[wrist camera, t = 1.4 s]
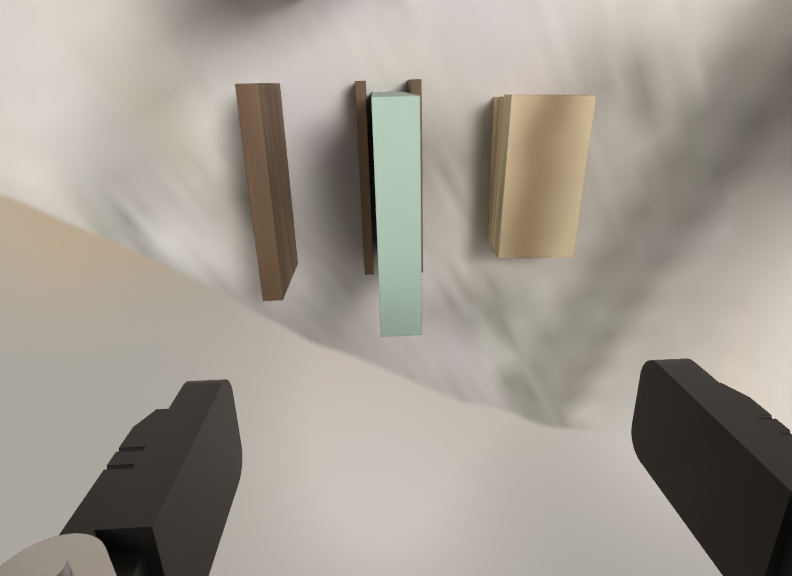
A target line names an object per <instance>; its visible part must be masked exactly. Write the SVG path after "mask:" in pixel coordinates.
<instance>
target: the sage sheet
mask: <svg viewBox="0 0 792 576" xmlns="http://www.w3.org/2000/svg"><path fill="white" fill-rule="evenodd" d="M371 98H372V123H373V148H374V172H375V197H376V221H377V246H378V271H379V295H380V320H381V337H386V336H410V335H422V280H421V164H420V96H418V95H414V94H410V93H406V92H372V97H371Z"/></svg>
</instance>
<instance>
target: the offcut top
mask: <svg viewBox="0 0 792 576" xmlns="http://www.w3.org/2000/svg"><path fill="white" fill-rule="evenodd" d="M595 99H596V96H594V95H505V96H504V109H503V122H502V135H501V148H500V160H499V173H498V186H497V199H496V212H495V225H494V238H493V251H494V253H495V254H496V255H497V257H498V258H568V257H574V252H575V245H576V237H577V230H578V223H579V215H580V208H581V201H582V194H583V186H584V179H585V172H586V164H587V157H588V150H589V143H590V135H591V128H592V121H593V113H594V106H595Z"/></svg>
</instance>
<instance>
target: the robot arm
mask: <svg viewBox="0 0 792 576" xmlns="http://www.w3.org/2000/svg"><path fill="white" fill-rule="evenodd" d="M631 434H632V442H633V446H634V450H635V452H636V455H637V457H638V459H639V460H640V462H641V463H642V465H643V466H644V467H645V469H646V470H647V471H648V473H649V474H650V476H651V477H652V478H653V480H654V481H655V483H656V484H657V485H658V487H659V488H660V489H661V491H662V492H663V494H664V495H665V496H666V498H667V499H668V501H669V502H670V503H671V505H672V506H673V507H674V509H675V510H676V512H677V513H678V514H679V516H680V517H681V518H682V520H683V521H684V523H685V524H686V525H687V527H688V528H689V529H690V531H691V532H692V534H693V535H694V536H695V538H696V539H697V540H698V542H699V543H700V545H701V546H702V547H703V549H704V550H705V552H706V553H707V554H708V556H709V557H710V558H711V560H712V561H713V563H714V564H715V565H716V567H717V568H718V570H719V571H720V572H721V574H722V575H723V576H792V434H791V433H790V430H789V429H788V428H787V427H785V426H784V425H783V424H782V423H780V422H779V421H778V420H777V419H772V417H771V414H769V413H768V412H767V411H766V410H765V409H763V408H762V407H761V406H760V405H758V404H757V403H756V402H755V401H754V400H752V399H751V398H750V397H748V396H746V395H744V394H742V393H740V392H738V391H736V390H734V389H732V388H730V387H728V386H726V385H724V384H722V383H719V382H718V381H716V380H715V379H714V378H713V377H712V376H711V375H709V374H708V373H707V372H706V371H705V370H703V369H702V368H701V367H700V366H699V365H698V364H696V363H695V362H694V361H692V360H690V359H666V360H649V361H647V362H646V363H645V364H644V365H643V367H642V370H641V374H640V380H639V386H638V392H637V398H636V404H635V410H634V416H633V422H632V429H631ZM241 469H242V446H241V440H240V434H239V427H238V421H237V415H236V409H235V403H234V397H233V391H232V387H231V384H230V382H229V381H228V380H205V381H188V382H186V383H185V384H184V385H183V386H182V388H181V390H180V391H179V393H178V395H177V396H176V398H175V399H174V401H173V403H172V405H171V406H170V407H169V409H156V410H155V411H154V412H153V413H151V414H150V415H149V416H147V417H146V418H145V419H143V420H142V421H141V422H139V423H138V424H137V425H135V426H134V427H133V428H132V430H131V431H130V433H129V434H128V435H127V437H126V439H125V440H124V441H123V443H122V444H121V446H120V447H119V452H116V453H115V454H114V456H113V457H112V459H111V460H110V462H109V463H108V465H107V470H103V472H102V473H101V475H100V476H99V478H98V479H97V481H96V482H95V484H94V485H93V486H92V488H91V489H90V491H89V492H88V494H87V495H86V497H85V498H84V500H83V501H82V502H81V504H80V505H79V507H78V508H77V510H76V511H75V513H74V514H73V515H72V517H71V519H70V520H69V521H68V523H67V524H66V526H65V527H64V529H63V530H62V531H61V533H60V535H59V536H55V537H52V538H49V539H46V540H43V541H41V542H38V543H36V544H34V545H32V546H30V547H28V548H26V549H24V550H22V551H21V552H19V553H18V554H16V555H14V556H13V557H12V558H10V559H9V560H7V561H6V562H5V563H3V564H2V565H1V566H0V576H209V573H210V570H211V567H212V564H213V560H214V557H215V554H216V551H217V548H218V545H219V542H220V539H221V536H222V533H223V530H224V527H225V524H226V521H227V517H228V514H229V511H230V508H231V505H232V502H233V499H234V496H235V493H236V490H237V487H238V484H239V480H240V475H241Z"/></svg>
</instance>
